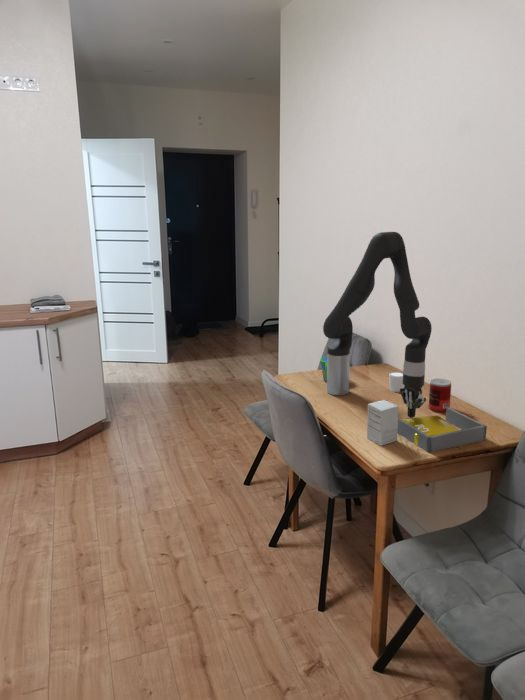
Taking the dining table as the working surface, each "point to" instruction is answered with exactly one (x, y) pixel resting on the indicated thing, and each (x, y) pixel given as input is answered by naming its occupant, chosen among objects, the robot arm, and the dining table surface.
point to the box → (467, 435)
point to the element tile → (430, 426)
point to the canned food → (439, 395)
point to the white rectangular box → (382, 422)
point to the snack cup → (324, 367)
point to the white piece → (396, 381)
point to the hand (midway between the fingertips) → (411, 416)
